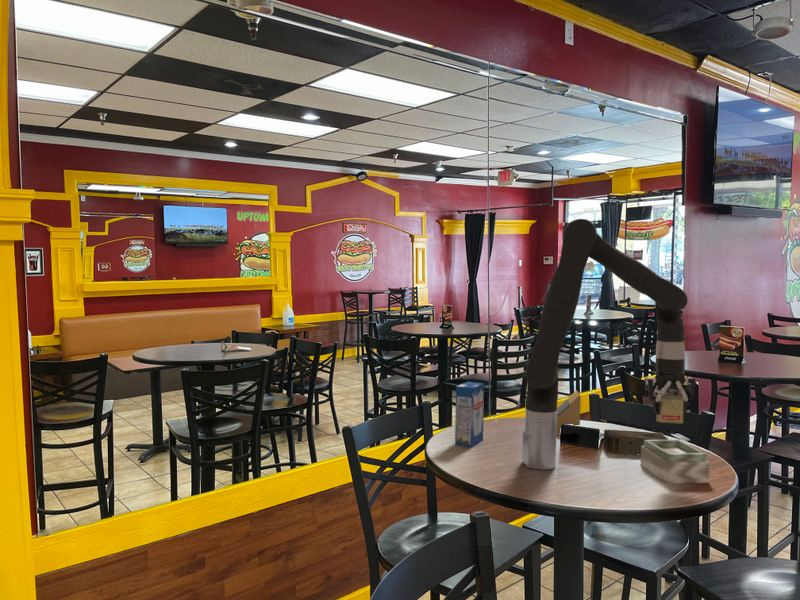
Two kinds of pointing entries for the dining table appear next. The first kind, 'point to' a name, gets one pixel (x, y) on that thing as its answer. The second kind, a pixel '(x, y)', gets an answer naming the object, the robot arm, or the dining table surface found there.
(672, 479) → the stand
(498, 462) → the dining table surface
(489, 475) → the dining table surface
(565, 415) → the sandwich container
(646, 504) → the dining table surface
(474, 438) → the milk carton
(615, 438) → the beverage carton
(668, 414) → the lighter
